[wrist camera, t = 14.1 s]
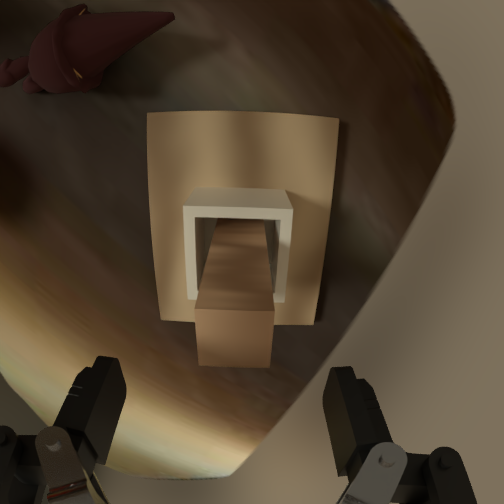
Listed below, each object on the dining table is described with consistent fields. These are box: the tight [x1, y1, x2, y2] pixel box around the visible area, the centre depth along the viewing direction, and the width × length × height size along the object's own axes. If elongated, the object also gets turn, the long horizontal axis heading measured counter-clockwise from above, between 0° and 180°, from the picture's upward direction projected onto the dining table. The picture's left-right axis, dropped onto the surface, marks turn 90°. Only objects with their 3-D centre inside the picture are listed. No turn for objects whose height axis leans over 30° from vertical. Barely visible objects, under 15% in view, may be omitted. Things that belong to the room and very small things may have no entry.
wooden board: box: [147, 111, 339, 325], centre depth 25 cm, size 14×18×1 cm
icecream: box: [0, 4, 175, 94], centre depth 17 cm, size 7×7×15 cm
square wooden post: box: [194, 218, 275, 368], centre depth 19 cm, size 3×3×12 cm
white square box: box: [183, 187, 293, 303], centre depth 23 cm, size 7×7×5 cm
